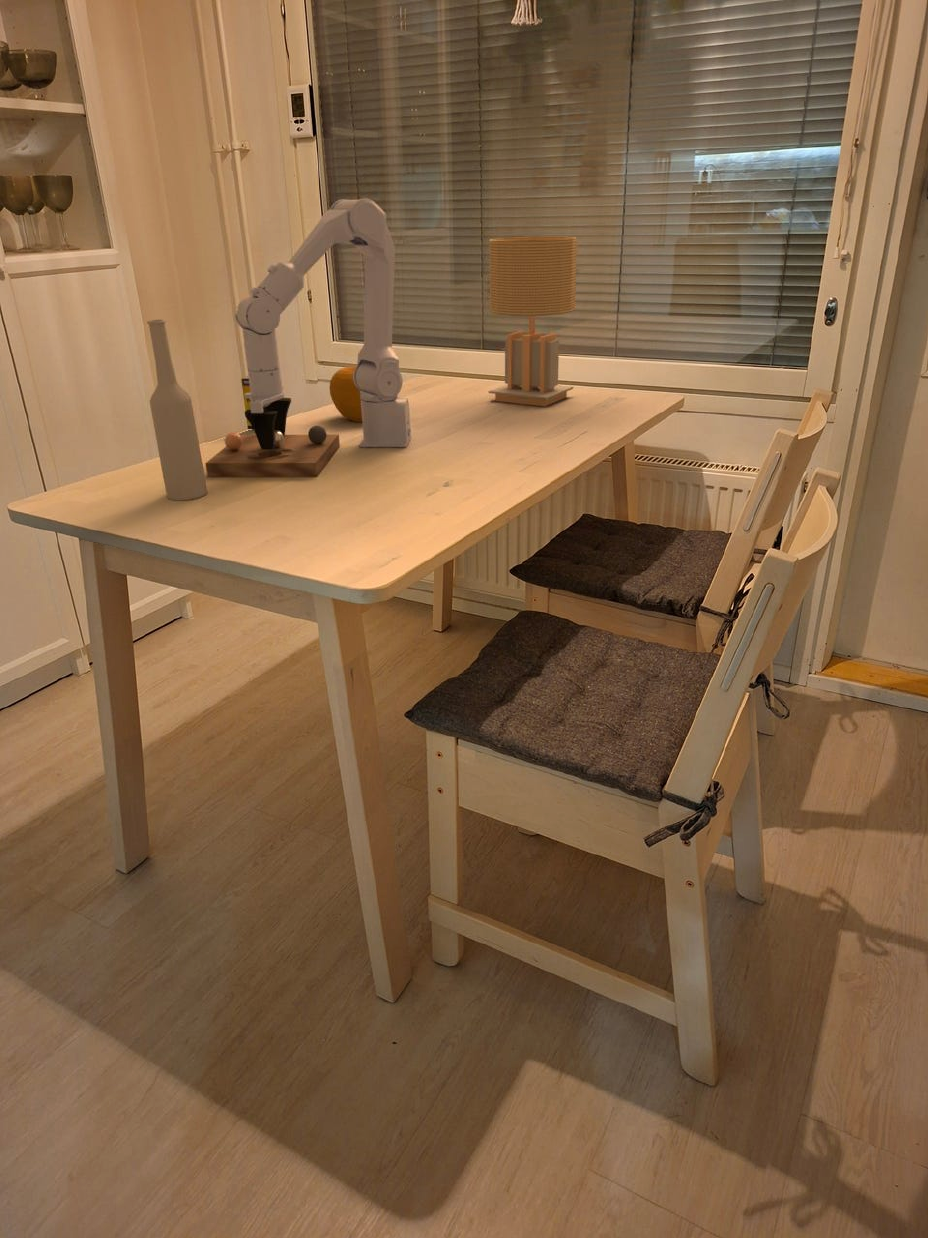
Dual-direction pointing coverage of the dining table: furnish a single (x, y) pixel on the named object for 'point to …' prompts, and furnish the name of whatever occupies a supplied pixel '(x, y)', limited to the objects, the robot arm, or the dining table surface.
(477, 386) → the dining table surface
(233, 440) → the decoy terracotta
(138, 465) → the dining table surface
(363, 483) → the dining table surface
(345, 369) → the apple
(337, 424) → the dining table surface
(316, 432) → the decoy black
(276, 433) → the steel ball
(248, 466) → the board
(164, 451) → the bottle
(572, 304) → the desk lamp
